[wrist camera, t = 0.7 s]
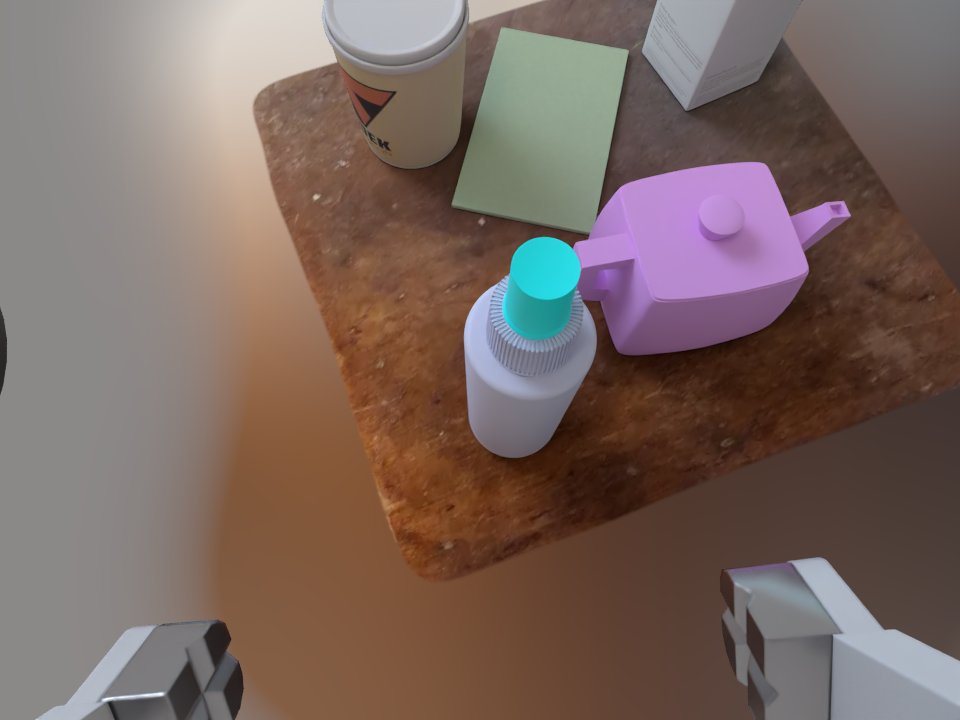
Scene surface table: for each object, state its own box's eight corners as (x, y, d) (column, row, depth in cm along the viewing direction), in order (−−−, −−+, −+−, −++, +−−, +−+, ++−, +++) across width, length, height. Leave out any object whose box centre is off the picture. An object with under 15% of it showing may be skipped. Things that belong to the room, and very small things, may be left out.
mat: (451, 207, 48) (451, 204, 48) (501, 30, 54) (501, 27, 53) (592, 236, 47) (593, 233, 47) (627, 53, 53) (628, 50, 53)
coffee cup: (336, 109, 51) (295, -24, 40) (438, 67, 52) (427, -73, 41) (385, 196, 48) (356, 81, 37) (491, 149, 50) (495, 24, 38)
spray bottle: (570, 441, 42) (660, 315, 21) (486, 472, 42) (495, 372, 21) (537, 361, 44) (591, 173, 23) (456, 389, 43) (437, 222, 22)
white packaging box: (760, 82, 52) (844, -64, 40) (684, 114, 51) (747, -26, 39) (711, 21, 54) (778, -136, 42) (638, 50, 53) (684, -102, 41)
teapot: (768, 206, 48) (841, 114, 38) (817, 331, 45) (911, 265, 35) (541, 246, 47) (557, 161, 37) (574, 377, 44) (602, 321, 34)
